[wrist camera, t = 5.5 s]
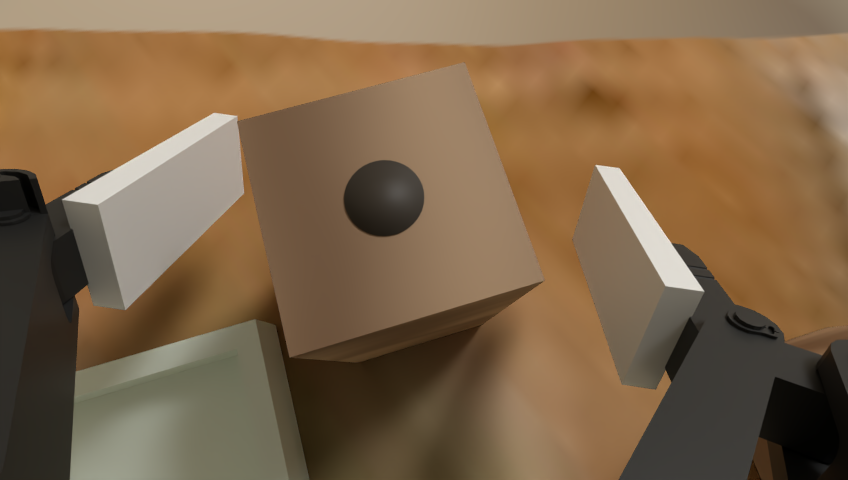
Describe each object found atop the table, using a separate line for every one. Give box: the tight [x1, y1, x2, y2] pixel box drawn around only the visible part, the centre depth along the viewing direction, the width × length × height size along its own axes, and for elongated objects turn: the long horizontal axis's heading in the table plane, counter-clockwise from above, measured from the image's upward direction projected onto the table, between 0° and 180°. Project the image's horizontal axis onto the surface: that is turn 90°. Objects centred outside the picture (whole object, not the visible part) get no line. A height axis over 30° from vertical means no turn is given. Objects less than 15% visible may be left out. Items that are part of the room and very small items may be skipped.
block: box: [237, 62, 545, 363], centre depth 14 cm, size 5×5×10 cm
